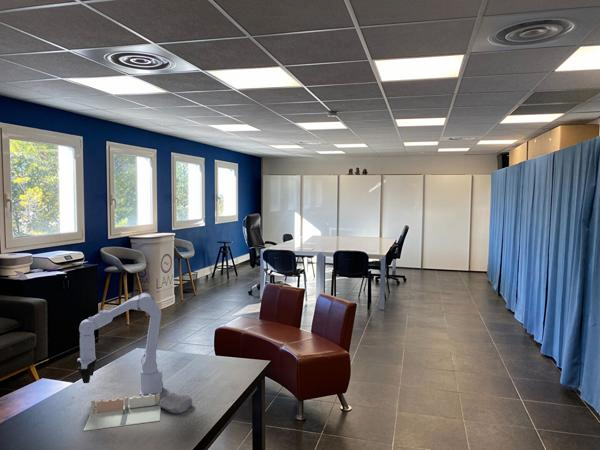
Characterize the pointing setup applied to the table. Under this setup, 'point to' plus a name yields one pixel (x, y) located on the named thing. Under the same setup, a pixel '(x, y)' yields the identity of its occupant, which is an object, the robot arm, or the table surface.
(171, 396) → the stone block
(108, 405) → the fence panel
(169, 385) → the table surface
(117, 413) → the card
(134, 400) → the fence fixed
